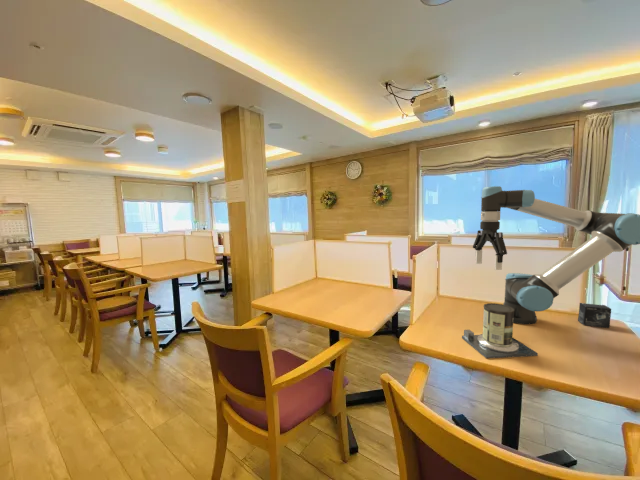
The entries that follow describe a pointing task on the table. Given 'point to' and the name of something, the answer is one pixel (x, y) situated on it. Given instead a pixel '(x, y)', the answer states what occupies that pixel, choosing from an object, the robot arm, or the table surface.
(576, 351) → the table surface
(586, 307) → the box
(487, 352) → the flange plate
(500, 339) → the coffee can
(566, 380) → the table surface
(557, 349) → the table surface
